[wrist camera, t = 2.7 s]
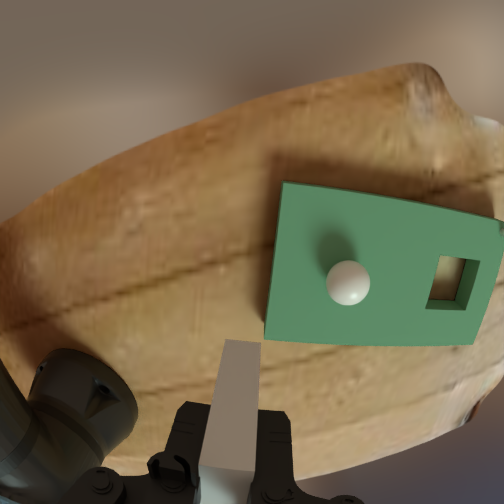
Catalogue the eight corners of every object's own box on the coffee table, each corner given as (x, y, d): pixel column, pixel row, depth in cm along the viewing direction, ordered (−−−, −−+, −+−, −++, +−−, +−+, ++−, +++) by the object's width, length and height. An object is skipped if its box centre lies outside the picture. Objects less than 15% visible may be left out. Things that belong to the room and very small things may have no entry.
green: (263, 325, 31) (263, 339, 28) (281, 180, 27) (283, 182, 24) (462, 333, 31) (472, 344, 28) (496, 218, 27) (509, 224, 24)
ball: (319, 292, 27) (326, 311, 23) (326, 252, 26) (335, 267, 22) (358, 295, 27) (369, 314, 23) (366, 256, 26) (380, 271, 22)
